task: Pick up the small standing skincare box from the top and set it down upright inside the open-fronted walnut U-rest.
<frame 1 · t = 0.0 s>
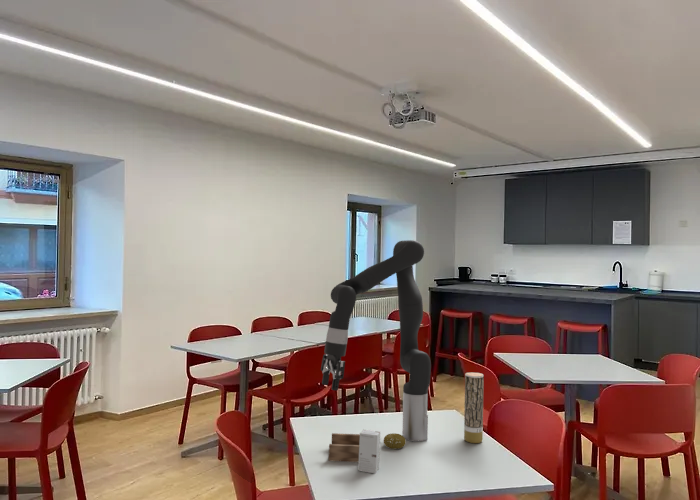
hand: (329, 387, 184), 22 cm above the table, tool pointing down, fingers open, 8 cm apart
sculpture: (394, 447, 190), on the table
skincare box: (369, 470, 169), on the table
u rest: (349, 454, 181), on the table
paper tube: (473, 441, 198), on the table
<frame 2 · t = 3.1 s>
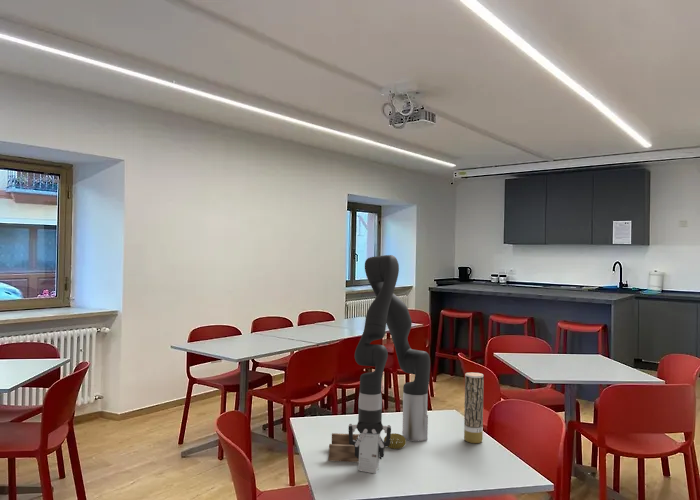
hand: (369, 457, 169), 4 cm above the table, tool pointing down, fingers closed on skincare box, 6 cm apart
skincare box: (369, 470, 169), on the table, touching gripper
everything else where it was.
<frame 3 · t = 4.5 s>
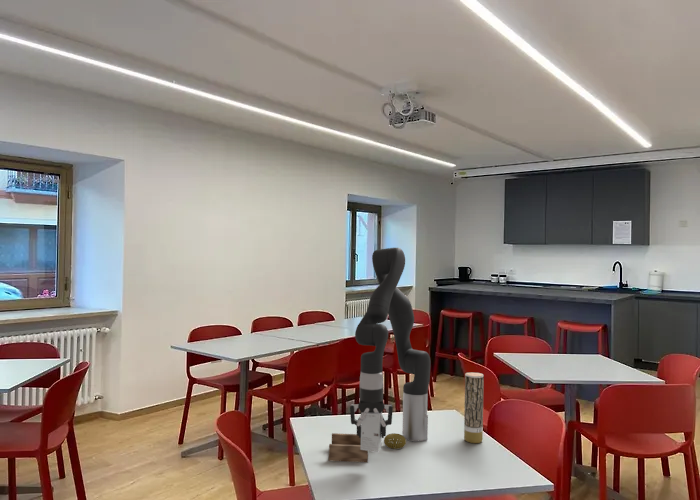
hand: (371, 437, 169), 10 cm above the table, tool pointing down, fingers closed on skincare box, 6 cm apart
skincare box: (371, 449, 169), point 6 cm above the table, touching gripper
everything else where it was.
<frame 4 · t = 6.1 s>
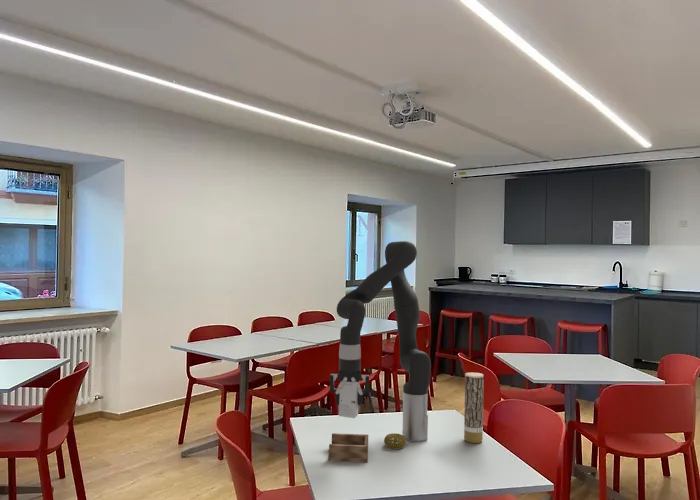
hand: (349, 404, 181), 17 cm above the table, tool pointing down, fingers closed on skincare box, 6 cm apart
skincare box: (348, 416, 181), point 13 cm above the table, touching gripper
everything else where it was.
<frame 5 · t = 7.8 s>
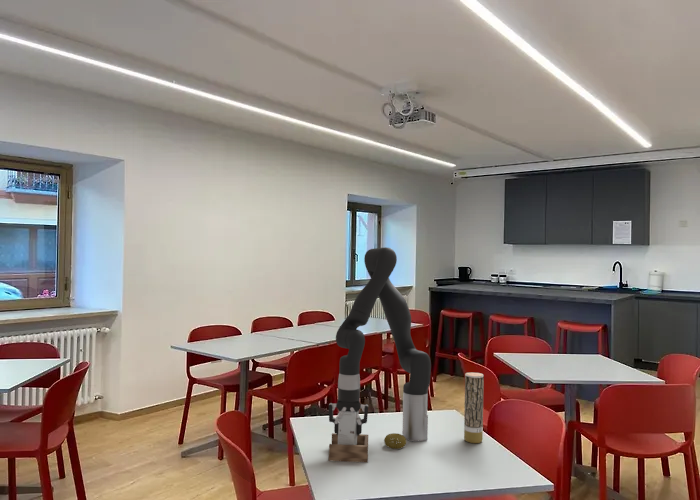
hand: (347, 434, 181), 7 cm above the table, tool pointing down, fingers closed on skincare box, 6 cm apart
skincare box: (347, 446, 181), point 3 cm above the table, touching gripper
everything else where it was.
when the fingers open (6 cm above the table, at t = 9.1 s): skincare box stays where it is, resting on u rest.
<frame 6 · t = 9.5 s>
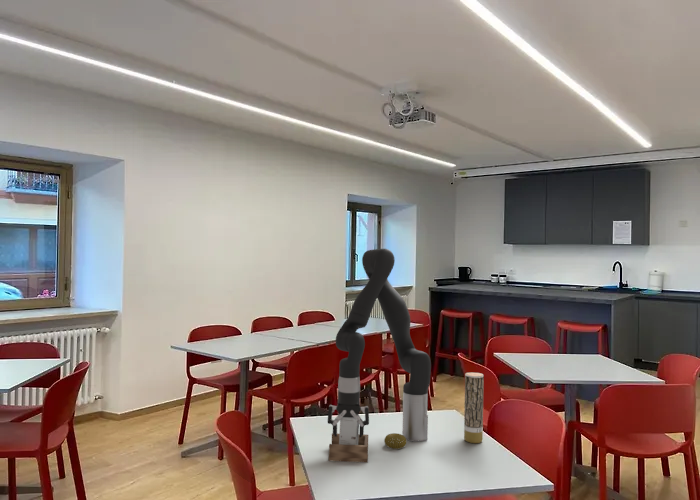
hand: (348, 436, 181), 6 cm above the table, tool pointing down, fingers open, 8 cm apart
skincare box: (348, 451, 181), point 1 cm above the table, touching u rest
everything else where it was.
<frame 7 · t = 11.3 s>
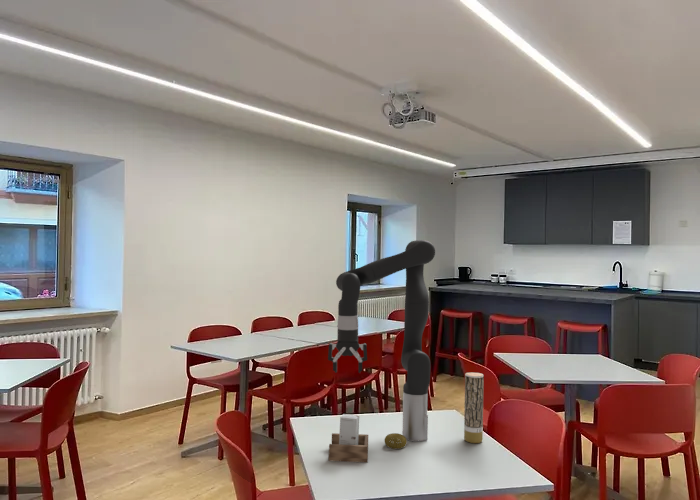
hand: (347, 372, 190), 26 cm above the table, tool pointing down, fingers open, 8 cm apart
nothing on the table moved.
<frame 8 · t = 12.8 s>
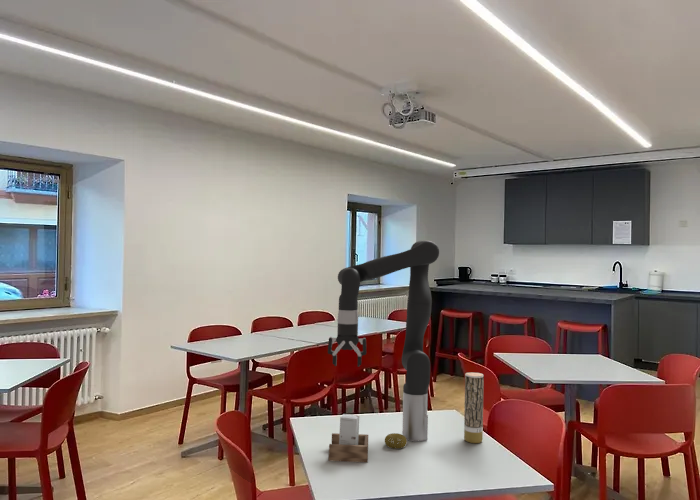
hand: (346, 366, 193), 28 cm above the table, tool pointing down, fingers open, 8 cm apart
nothing on the table moved.
at the end: skincare box inside the target area on the u rest (0.4 cm from its centre), point 1.0 cm above the u rest's base; skincare box tilted 0°; the gripper is holding nothing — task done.
